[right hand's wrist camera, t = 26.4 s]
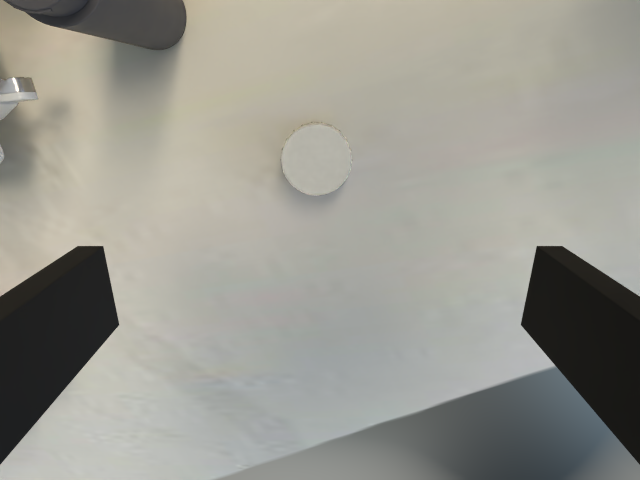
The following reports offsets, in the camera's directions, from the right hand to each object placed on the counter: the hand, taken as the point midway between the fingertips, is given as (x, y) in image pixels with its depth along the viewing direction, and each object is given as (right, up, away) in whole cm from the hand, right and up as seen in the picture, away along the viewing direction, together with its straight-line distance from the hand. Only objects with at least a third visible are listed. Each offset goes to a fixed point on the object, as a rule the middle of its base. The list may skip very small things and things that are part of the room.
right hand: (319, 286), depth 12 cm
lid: (0, +8, +23) cm, 24 cm away
